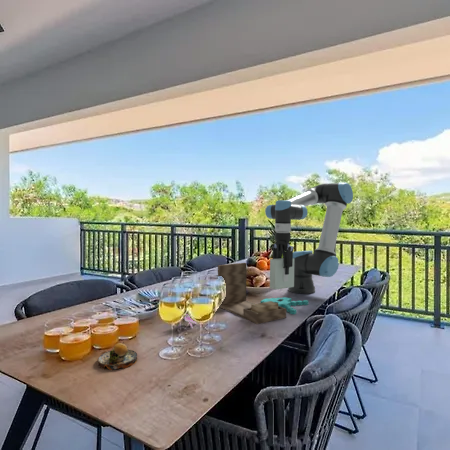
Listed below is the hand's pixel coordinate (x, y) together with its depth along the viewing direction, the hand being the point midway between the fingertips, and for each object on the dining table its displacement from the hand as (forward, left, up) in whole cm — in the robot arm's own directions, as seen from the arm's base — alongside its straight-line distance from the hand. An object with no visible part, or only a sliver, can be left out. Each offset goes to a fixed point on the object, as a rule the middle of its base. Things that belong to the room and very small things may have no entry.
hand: (282, 280), depth 170 cm
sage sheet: (0, 0, -4) cm, 4 cm away
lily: (+52, +2, -13) cm, 54 cm away
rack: (+19, 0, -13) cm, 23 cm away
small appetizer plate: (+85, +20, -13) cm, 88 cm away
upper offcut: (+19, +10, -9) cm, 23 cm away
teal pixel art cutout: (0, 0, -13) cm, 13 cm away
